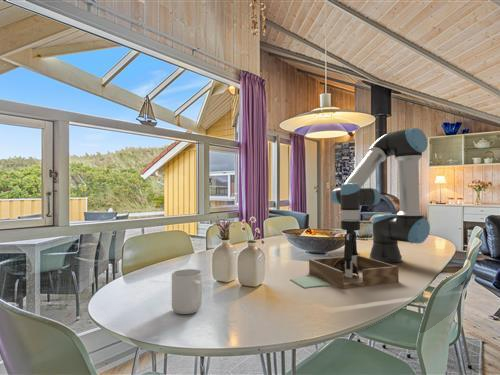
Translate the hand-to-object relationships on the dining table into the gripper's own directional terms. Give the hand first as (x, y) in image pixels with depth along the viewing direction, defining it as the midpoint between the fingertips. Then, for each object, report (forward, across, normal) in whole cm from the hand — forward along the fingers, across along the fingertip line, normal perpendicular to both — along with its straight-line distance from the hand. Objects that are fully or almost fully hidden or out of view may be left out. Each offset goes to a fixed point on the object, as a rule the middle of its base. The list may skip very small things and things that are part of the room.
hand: (351, 273), depth 129 cm
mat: (+2, +14, -13) cm, 20 cm away
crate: (+1, 0, 0) cm, 2 cm away
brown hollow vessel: (+2, -3, -1) cm, 4 cm away
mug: (+2, +59, -38) cm, 70 cm away
